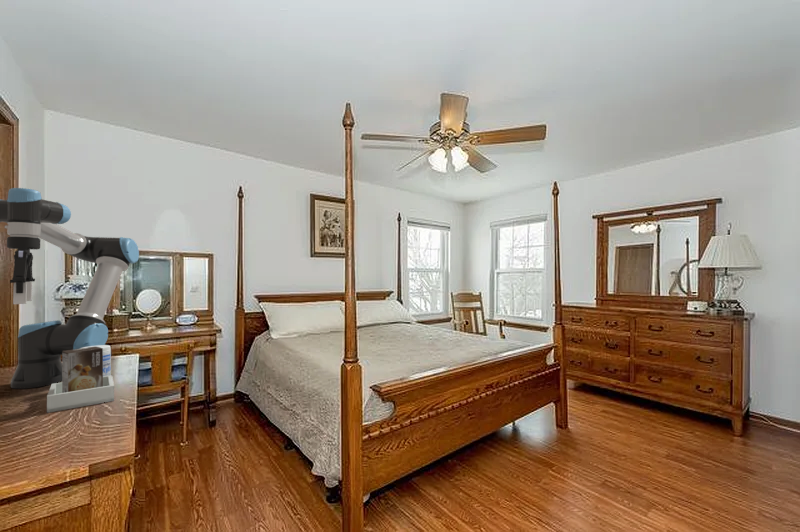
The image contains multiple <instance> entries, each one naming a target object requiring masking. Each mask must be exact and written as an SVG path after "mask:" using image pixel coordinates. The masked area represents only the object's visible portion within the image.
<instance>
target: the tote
mask: <svg viewBox="0 0 800 532" xmlns="http://www.w3.org/2000/svg"><path fill="white" fill-rule="evenodd" d="M113 376H114V375H113V374H112V375H109V376H103V387H97V388H91V389H84V390H78V391H72V392H65V393H62V381H61V382H58V383H54V384H51V385H50V387H49V389H48V392H47V395H46V414H48V413H54V412H60V411H64V410H70V409H71V410H73V409H76V408H81V407H86V406H87V407H88V406H94V405H98V404H105V403H110V402H114V401H115V382H114V377H113ZM104 402H105V403H104Z"/></svg>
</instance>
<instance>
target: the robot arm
mask: <svg viewBox="0 0 800 532" xmlns="http://www.w3.org/2000/svg"><path fill="white" fill-rule="evenodd" d="M71 217H72V211H71V209H70V208H69V207H68V206H67V205H65V204H63V203H60V202H59V201H56V202H55V201H51V200H47V199H46V200H45V199H43V198H42V194H41V192H40V191H39V190H36V189H31V188H26V187H25V188H23V187H11V188H9V189H8V193H7V198H6V199H0V223H6V224H7V225H4V229H6V230H7V231H6V232H7V233H6V234H7V235H9V236H8V237H6V248H8V249H12V250H14V254H13V259H14V260H13V261H14V262H13V273H12V274H13V275H12V278H11V279H10V281H9V284H13V293H12V298H13V303H12V304H13V305H24V304H27V302H31V301H32V299H33V297H32V296H33V295H32V294H33V282H35V281H36V278H34V277H33V264H34V263H33V260H34V255H33V253H32V252H31V250H41V240H42V241H44V242H45V241H46V242H47V243H48V244H51V245H53V246H55V247H57V248H60V249H61V251H62V252H63V253H65V254H67V255H69V256H71V257H73V258H76V259H79V260H80V261H84V262H88V263H93V264H97V265H98V266H97V268H96V270H95V272H94V275H93V276H92V279H91V281H90V283H89V285H88V287H87V290H86V291H85V294H84V296H83V298H82V301H81V303H80V305H79V307H78V309H77V311H76V313H75V314H73V315H70V316H69V318H68V320H67V322H66V323H62V322H61V320H60V319H58V320H50V321H49V320H48V321H45V322H44V321H43V322H36V323H29V324H26V325H25V324H24V325H22V326H21V327H20V328H19V329H18V336H17V354H18V355H17V367H16V368H15V371H14V373H13V375H12V377H11V380H10V388H11V389H17V390H19V389H22V390H23V389H31V388H32V389H34V388H40V387H45V385H46V386H51V385H50V384H54V383H57V382H58V383H61V382H62V358H61V356H62V351H67V350H74V349H79V348H83V347H88V346H96V345H106V343H107V341H108V337H109V329H108V326H107V325H106V321H105V320H104V317H105V315H106V311H107V309H108V307H109V304H110V302H111V300H112V297H113V295H114V292H115V289H116V287H117V284H118V282H119V279H120V277H121V275H122V272H125V271H126V270H128V268H129V266H130V264H131V265H133V264H136V263H137V262H138V261H139V258H140V251H139V246H138V244H137V243H136V241H135V240H134V239H133V238H130V237H122V236H120V237H100V236H98V237H97V236H94V237H93V236H85V235H83V234H81V233H77V232H76V233H74V232H73V231H70V230H68V229H66V228H64V227H63V226H61V225H64V224H67V222H69V221H70V219H71ZM60 381H61V382H60Z"/></svg>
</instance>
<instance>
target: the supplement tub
mask: <svg viewBox="0 0 800 532" xmlns="http://www.w3.org/2000/svg"><path fill="white" fill-rule="evenodd" d="M88 347H100V348H103V376H109V375H111V373H112V372H111V370H112V369H111V366H112V365H111V364H112V348H111V345H109V344H105V345H96V346H88ZM88 347H83V348H88ZM79 349H81V348H79Z"/></svg>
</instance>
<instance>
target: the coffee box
mask: <svg viewBox="0 0 800 532" xmlns="http://www.w3.org/2000/svg"><path fill="white" fill-rule="evenodd" d="M61 356H62V358H61V362H62V381H61V382H62V393H65V392H72V391H78V390H84V389H91V388H97V387H103V348H100V347H88V348H81V349H74V350H67V351H62V355H61Z"/></svg>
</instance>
